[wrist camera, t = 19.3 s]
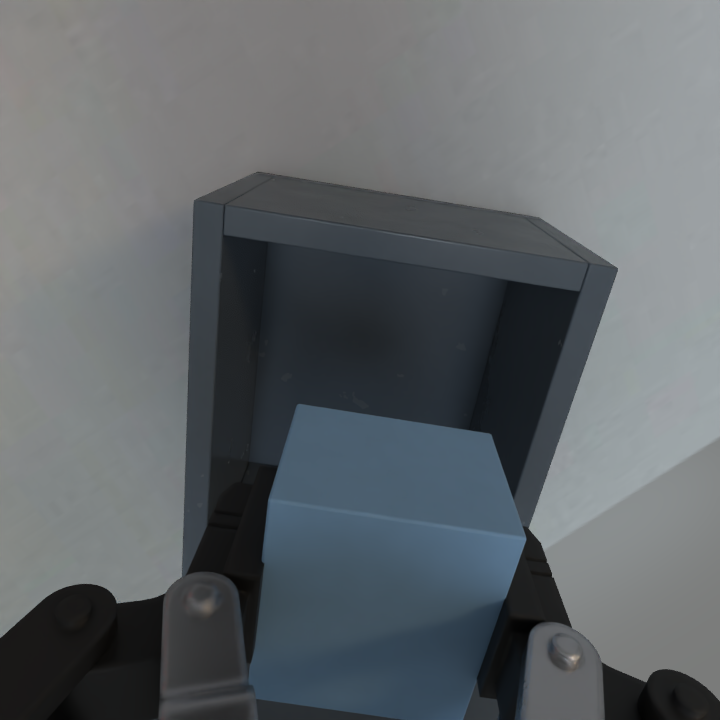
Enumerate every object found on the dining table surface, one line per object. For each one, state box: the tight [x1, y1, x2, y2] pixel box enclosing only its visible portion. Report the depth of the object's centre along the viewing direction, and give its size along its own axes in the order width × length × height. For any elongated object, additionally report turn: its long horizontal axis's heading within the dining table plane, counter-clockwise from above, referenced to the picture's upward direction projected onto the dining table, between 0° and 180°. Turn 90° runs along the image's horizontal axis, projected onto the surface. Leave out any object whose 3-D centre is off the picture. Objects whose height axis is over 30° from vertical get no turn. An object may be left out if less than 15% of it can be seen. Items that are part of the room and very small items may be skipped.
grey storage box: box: [182, 172, 618, 577], centre depth 26 cm, size 17×14×10 cm
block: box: [248, 404, 526, 720], centre depth 12 cm, size 5×5×4 cm
